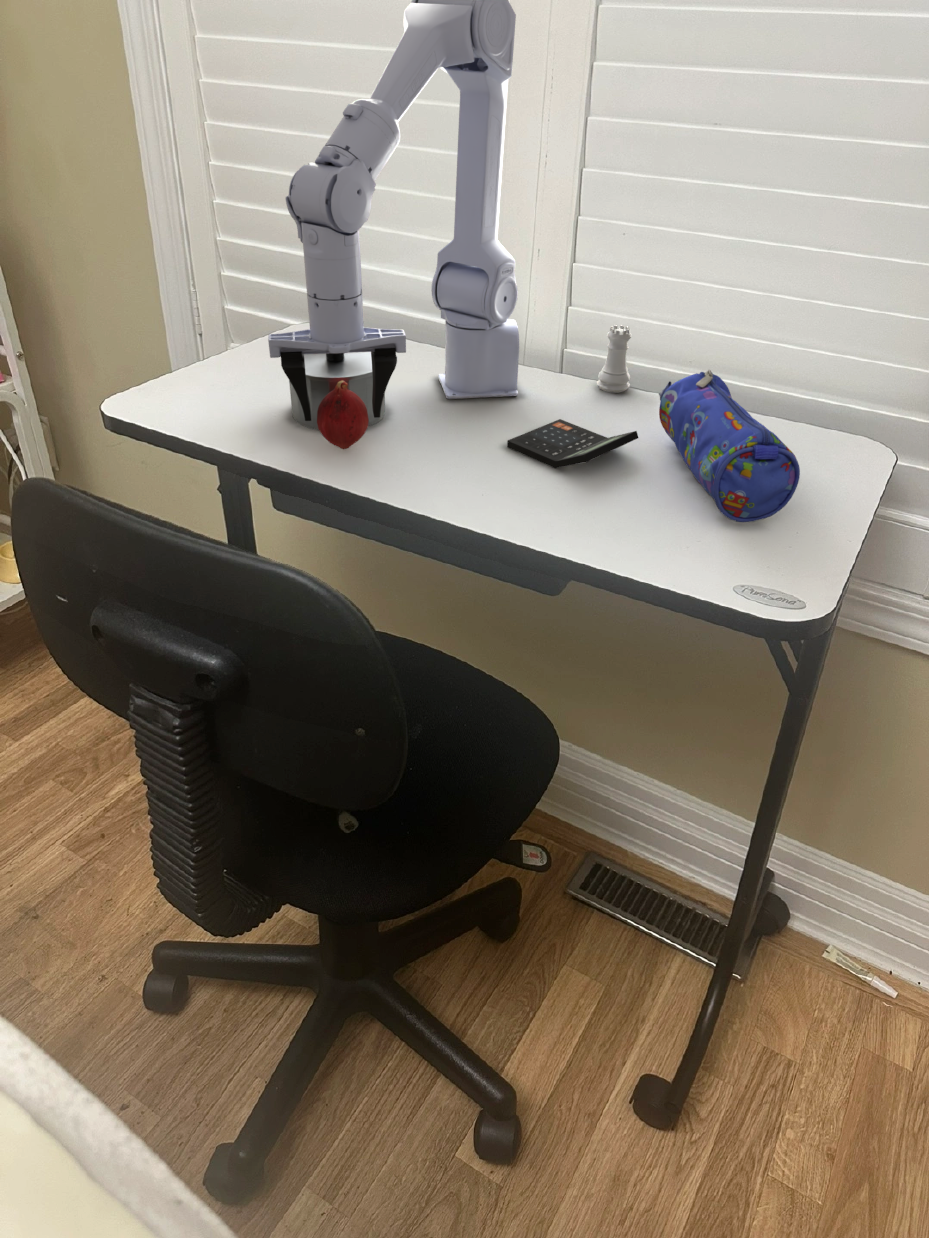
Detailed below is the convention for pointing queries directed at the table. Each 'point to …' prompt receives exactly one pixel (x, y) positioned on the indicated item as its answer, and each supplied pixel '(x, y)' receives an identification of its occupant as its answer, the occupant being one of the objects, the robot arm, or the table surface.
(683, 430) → the pencil case
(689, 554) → the table surface
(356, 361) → the pot lid
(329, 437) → the red oval fruit
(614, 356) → the rook chess piece
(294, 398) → the pot
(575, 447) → the calculator
